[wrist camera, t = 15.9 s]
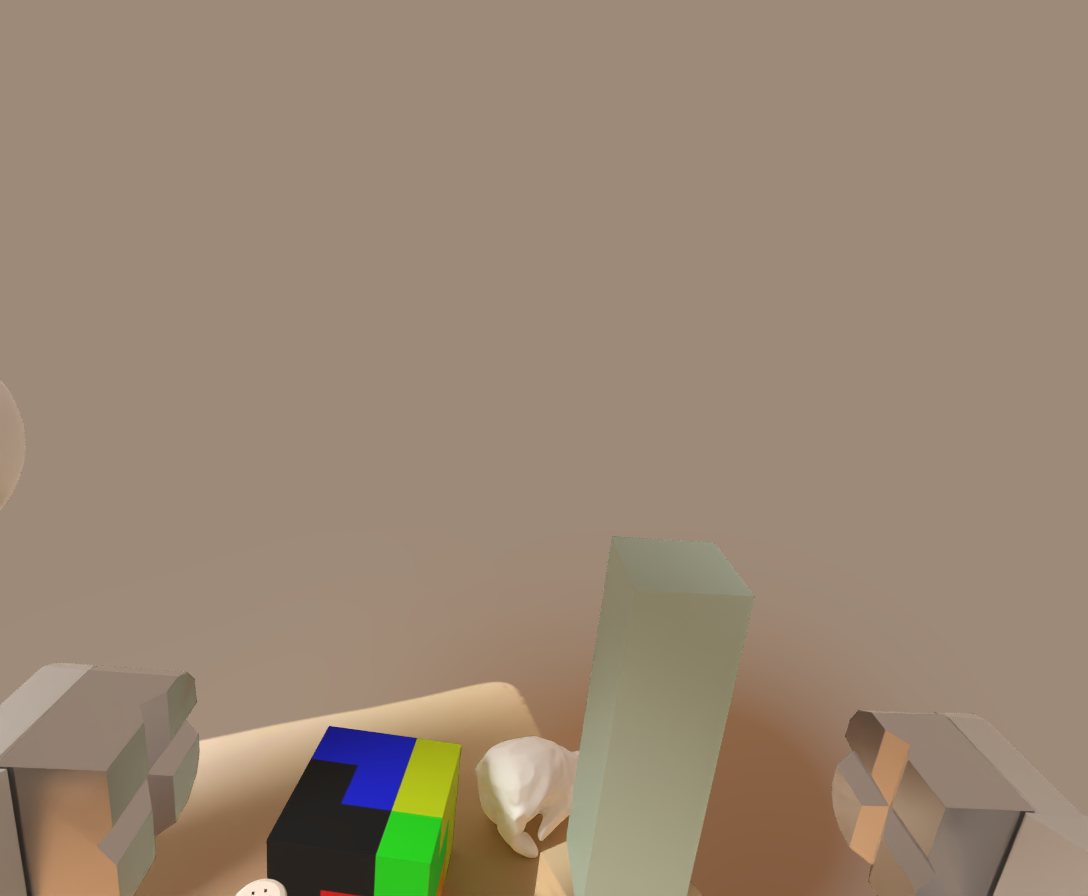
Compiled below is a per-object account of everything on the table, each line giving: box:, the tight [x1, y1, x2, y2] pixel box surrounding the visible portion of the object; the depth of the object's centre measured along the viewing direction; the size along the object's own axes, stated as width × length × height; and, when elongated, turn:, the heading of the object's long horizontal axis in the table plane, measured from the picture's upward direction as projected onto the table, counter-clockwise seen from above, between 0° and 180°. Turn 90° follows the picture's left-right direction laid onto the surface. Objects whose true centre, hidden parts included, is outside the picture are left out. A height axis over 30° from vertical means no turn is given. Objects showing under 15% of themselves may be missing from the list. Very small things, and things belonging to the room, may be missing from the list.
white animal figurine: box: [475, 736, 579, 858], centre depth 55 cm, size 6×8×12 cm
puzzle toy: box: [267, 726, 461, 896], centre depth 46 cm, size 10×10×10 cm
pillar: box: [566, 536, 755, 896], centre depth 35 cm, size 6×6×20 cm
